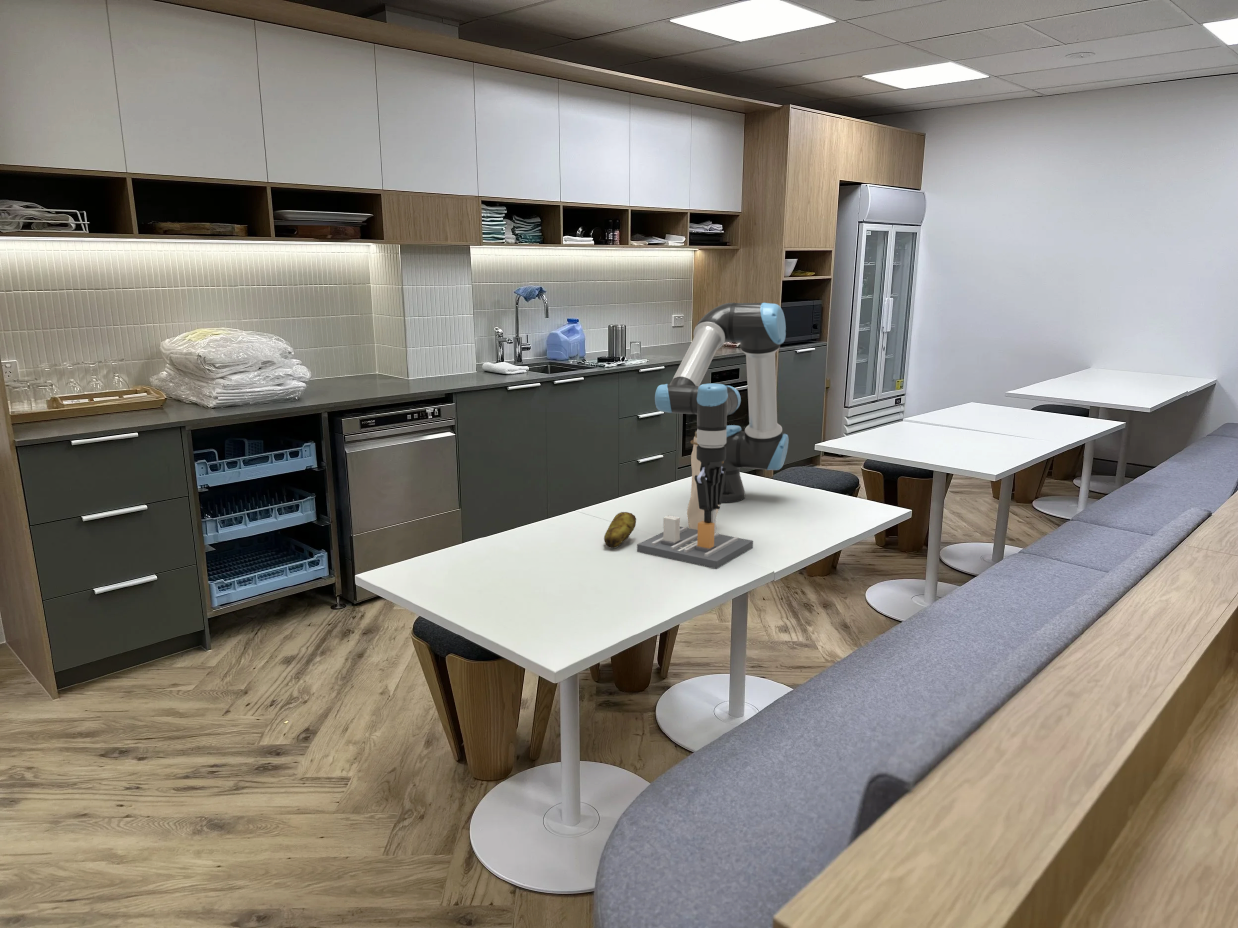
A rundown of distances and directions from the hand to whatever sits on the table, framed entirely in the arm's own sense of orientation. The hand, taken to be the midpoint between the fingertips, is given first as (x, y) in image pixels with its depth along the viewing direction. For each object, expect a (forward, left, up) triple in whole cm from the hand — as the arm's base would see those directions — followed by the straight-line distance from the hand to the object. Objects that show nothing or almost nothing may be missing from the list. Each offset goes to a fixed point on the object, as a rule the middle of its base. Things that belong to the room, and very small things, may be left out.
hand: (709, 533), depth 225 cm
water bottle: (-20, -13, -6) cm, 25 cm away
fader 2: (+2, 0, -4) cm, 4 cm away
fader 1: (+3, -10, -4) cm, 11 cm away
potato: (+6, -25, -6) cm, 26 cm away
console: (-1, -5, -6) cm, 8 cm away
